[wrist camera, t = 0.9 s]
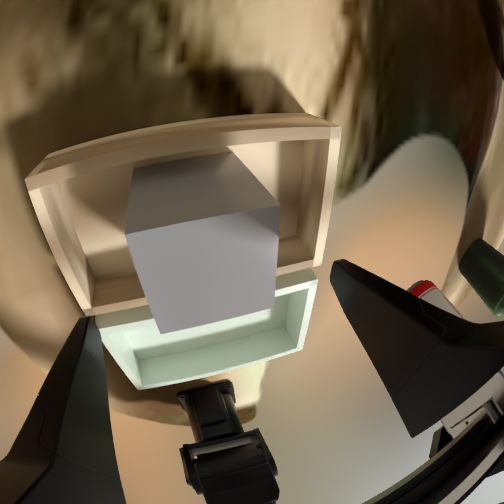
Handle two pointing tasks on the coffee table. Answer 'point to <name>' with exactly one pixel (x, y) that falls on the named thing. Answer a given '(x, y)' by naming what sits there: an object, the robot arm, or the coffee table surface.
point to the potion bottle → (485, 274)
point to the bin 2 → (209, 337)
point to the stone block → (202, 240)
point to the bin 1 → (168, 149)
